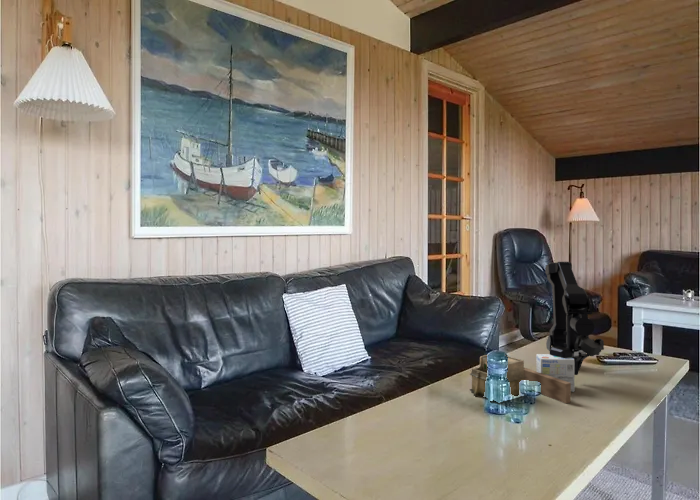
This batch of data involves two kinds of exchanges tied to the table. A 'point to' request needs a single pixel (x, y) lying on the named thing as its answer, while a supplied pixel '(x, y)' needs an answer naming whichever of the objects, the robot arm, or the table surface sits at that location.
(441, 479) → the table surface
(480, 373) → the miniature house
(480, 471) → the table surface
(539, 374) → the wall
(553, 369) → the light bulb box
